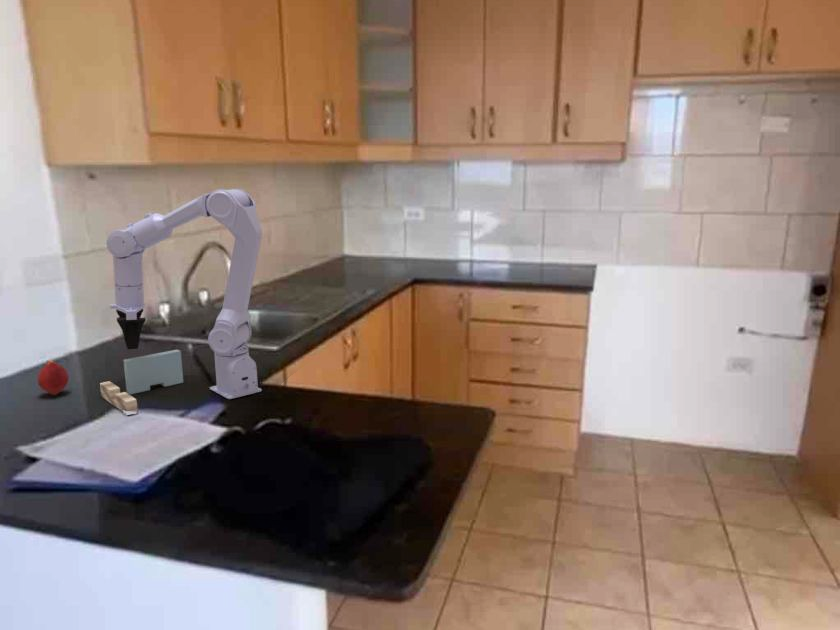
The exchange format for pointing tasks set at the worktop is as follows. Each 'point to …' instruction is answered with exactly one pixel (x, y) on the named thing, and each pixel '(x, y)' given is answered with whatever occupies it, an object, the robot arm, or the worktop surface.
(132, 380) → the teal plate
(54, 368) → the onion
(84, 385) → the worktop surface
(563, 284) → the worktop surface
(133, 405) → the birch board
